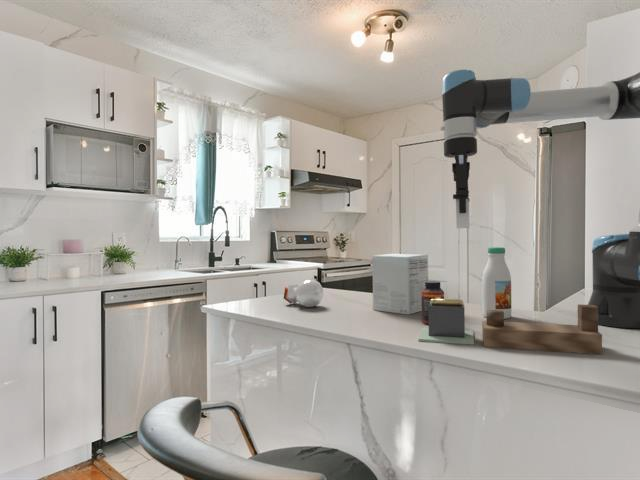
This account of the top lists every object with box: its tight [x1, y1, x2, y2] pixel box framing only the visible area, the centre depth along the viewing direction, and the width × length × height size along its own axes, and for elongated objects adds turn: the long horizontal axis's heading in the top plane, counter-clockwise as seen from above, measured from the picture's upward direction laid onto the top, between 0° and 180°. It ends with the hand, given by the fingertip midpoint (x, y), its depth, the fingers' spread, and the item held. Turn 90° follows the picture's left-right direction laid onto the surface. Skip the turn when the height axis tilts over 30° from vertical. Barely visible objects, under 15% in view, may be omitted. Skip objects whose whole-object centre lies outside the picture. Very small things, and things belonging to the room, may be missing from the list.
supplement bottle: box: [421, 280, 445, 325], centre depth 116 cm, size 6×6×11 cm
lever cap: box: [428, 298, 466, 338], centre depth 101 cm, size 8×5×8 cm, turn 72°
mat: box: [417, 326, 475, 346], centre depth 102 cm, size 12×12×1 cm
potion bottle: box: [283, 278, 325, 308], centre depth 145 cm, size 9×10×15 cm
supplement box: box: [371, 253, 429, 315], centre depth 136 cm, size 13×13×18 cm
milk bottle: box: [481, 246, 512, 320], centre depth 123 cm, size 8×8×20 cm
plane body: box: [482, 304, 603, 355], centre depth 93 cm, size 22×8×9 cm, turn 72°
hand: (462, 228), depth 102 cm, fingers open, 13 cm apart
